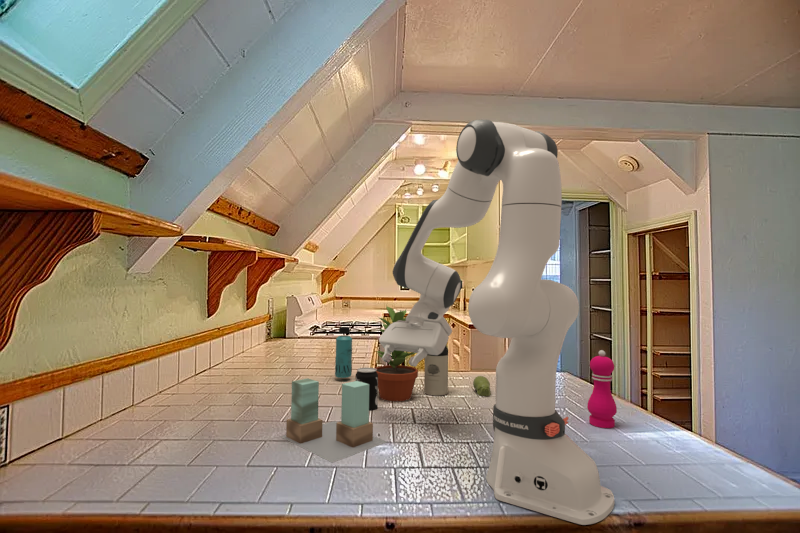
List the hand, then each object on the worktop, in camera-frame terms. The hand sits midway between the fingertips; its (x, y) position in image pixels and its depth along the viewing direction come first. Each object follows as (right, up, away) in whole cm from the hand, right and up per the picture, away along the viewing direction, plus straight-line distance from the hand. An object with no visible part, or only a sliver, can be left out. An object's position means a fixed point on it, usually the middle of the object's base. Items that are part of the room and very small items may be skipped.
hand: (398, 362), depth 109 cm
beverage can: (-9, -18, +16) cm, 26 cm away
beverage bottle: (-21, -19, +53) cm, 60 cm away
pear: (+29, -19, +37) cm, 51 cm away
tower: (-22, -16, -8) cm, 28 cm away
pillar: (-10, -12, -10) cm, 18 cm away
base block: (-10, -16, -10) cm, 21 cm away
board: (-15, -17, -9) cm, 24 cm away
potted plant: (-1, -18, +31) cm, 36 cm away
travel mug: (+13, -19, +36) cm, 43 cm away
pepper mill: (+55, -18, +7) cm, 59 cm away
